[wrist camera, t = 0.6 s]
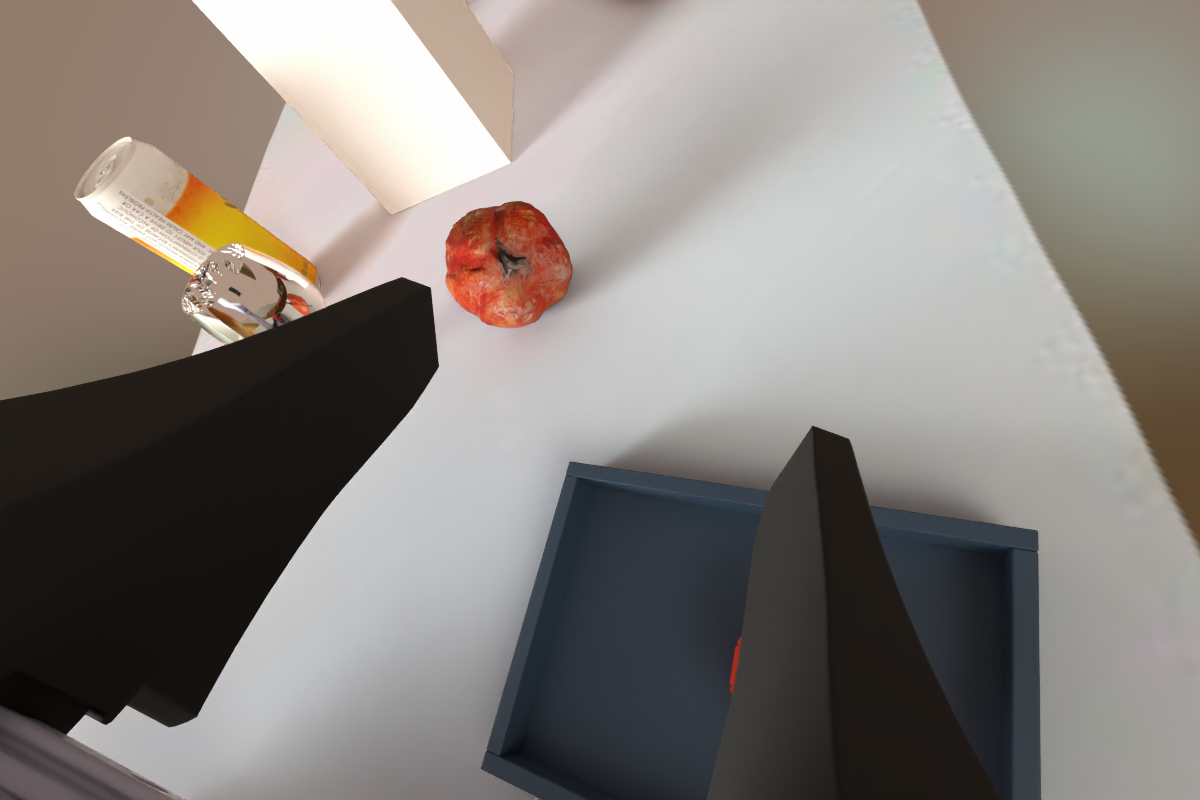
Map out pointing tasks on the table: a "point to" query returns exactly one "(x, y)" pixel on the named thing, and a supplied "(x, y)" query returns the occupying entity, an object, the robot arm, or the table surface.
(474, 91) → the milk
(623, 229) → the table surface
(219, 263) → the wineglass
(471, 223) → the pomegranate
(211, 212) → the beer can
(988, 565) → the tray
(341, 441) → the robot arm
